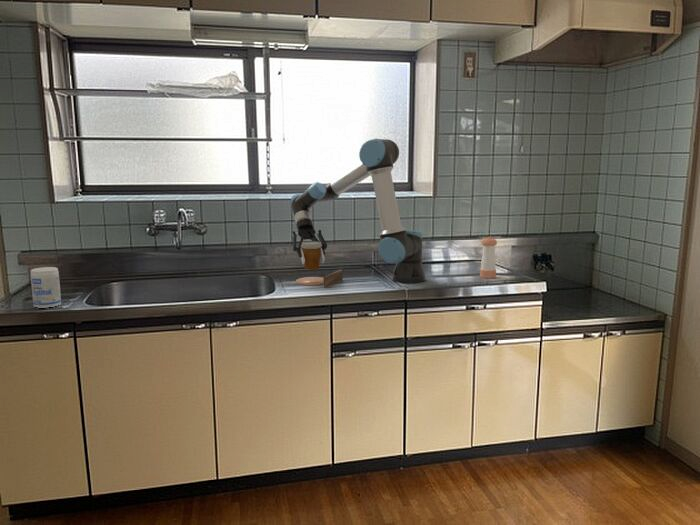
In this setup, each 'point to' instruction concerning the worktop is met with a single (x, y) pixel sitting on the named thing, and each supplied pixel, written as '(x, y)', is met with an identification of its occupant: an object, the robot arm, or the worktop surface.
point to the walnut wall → (333, 278)
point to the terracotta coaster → (310, 281)
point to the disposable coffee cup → (311, 254)
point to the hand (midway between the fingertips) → (313, 261)
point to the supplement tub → (45, 287)
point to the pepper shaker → (488, 258)
